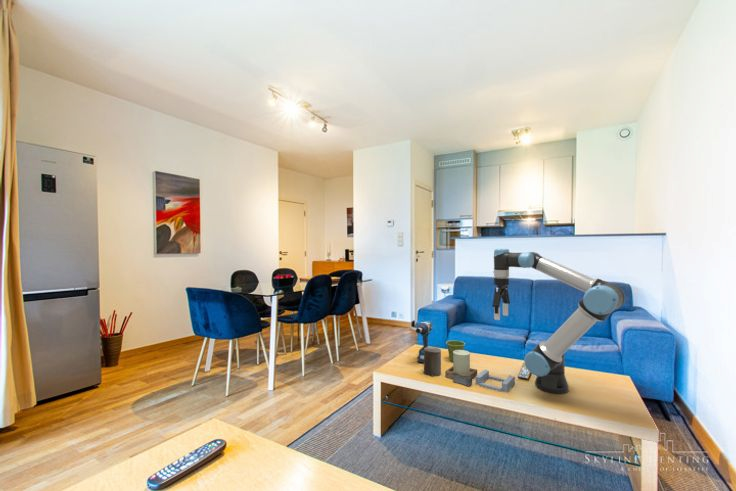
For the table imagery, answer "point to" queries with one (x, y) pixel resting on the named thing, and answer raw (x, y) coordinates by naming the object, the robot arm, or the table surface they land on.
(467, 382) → the grey t-shaped block
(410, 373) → the table surface
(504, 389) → the socket block
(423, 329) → the impact wrench
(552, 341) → the robot arm
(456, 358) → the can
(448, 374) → the tray
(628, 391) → the table surface
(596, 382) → the table surface
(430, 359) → the pillar candle
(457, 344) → the plant pot
